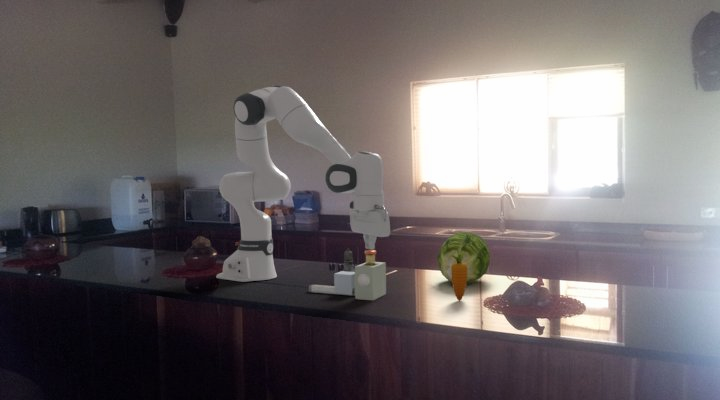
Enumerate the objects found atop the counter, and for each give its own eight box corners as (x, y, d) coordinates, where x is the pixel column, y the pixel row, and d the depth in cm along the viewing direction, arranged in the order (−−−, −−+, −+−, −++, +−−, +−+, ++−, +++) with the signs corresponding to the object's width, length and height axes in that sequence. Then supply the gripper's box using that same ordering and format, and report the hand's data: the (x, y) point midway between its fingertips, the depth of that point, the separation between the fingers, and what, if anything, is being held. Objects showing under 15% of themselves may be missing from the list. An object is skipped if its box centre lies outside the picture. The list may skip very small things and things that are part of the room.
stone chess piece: (355, 283, 206) (354, 249, 205) (338, 283, 207) (338, 248, 206) (358, 280, 212) (358, 246, 211) (342, 279, 213) (342, 246, 212)
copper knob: (362, 269, 184) (362, 251, 183) (367, 267, 187) (367, 249, 187) (373, 270, 182) (373, 252, 182) (378, 268, 185) (378, 250, 185)
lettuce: (425, 288, 197) (432, 240, 193) (442, 266, 218) (449, 222, 214) (477, 302, 191) (485, 252, 187) (490, 278, 213) (498, 232, 208)
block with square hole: (354, 299, 181) (354, 266, 181) (368, 292, 191) (368, 261, 190) (372, 300, 179) (372, 267, 178) (386, 293, 188) (385, 262, 188)
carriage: (334, 293, 187) (334, 273, 187) (341, 290, 192) (341, 271, 192) (351, 295, 185) (351, 274, 185) (358, 291, 189) (358, 272, 189)
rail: (308, 291, 193) (308, 285, 193) (312, 290, 195) (312, 284, 195) (360, 296, 185) (360, 290, 185) (363, 294, 187) (363, 288, 187)
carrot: (464, 303, 174) (463, 252, 173) (448, 301, 176) (448, 251, 176) (470, 300, 178) (470, 250, 177) (454, 298, 181) (454, 249, 180)
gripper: (395, 205, 175) (395, 252, 176) (363, 202, 194) (364, 244, 194) (376, 206, 173) (376, 253, 173) (346, 203, 191) (347, 246, 192)
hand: (370, 248), depth 184 cm, fingers closed
